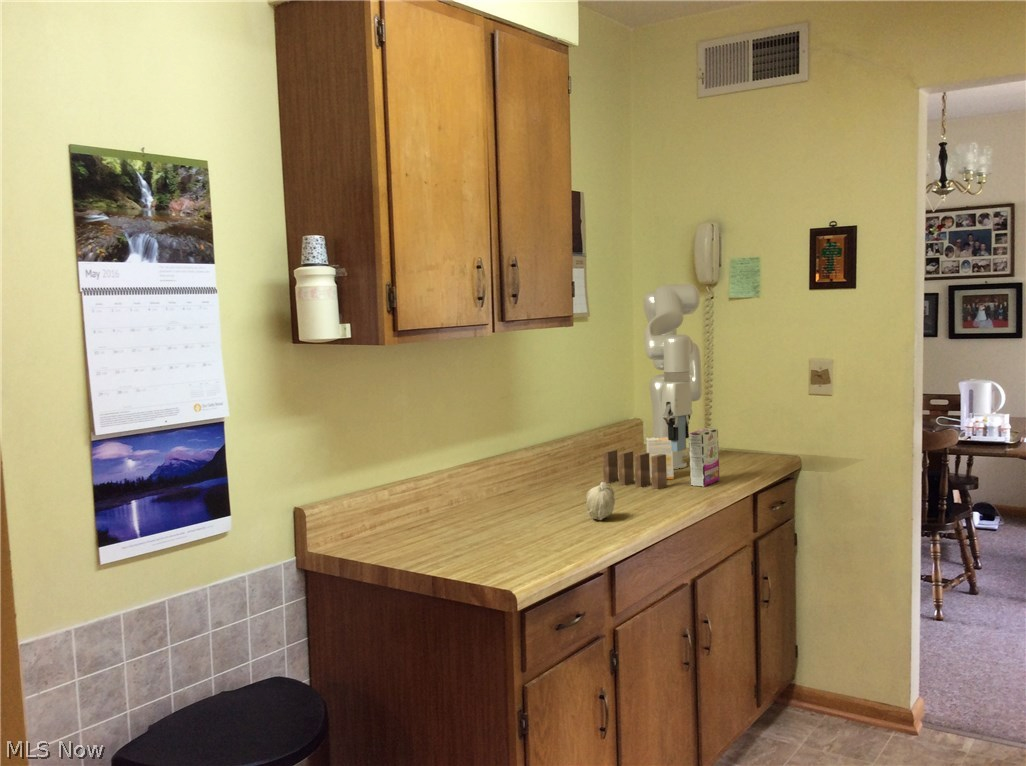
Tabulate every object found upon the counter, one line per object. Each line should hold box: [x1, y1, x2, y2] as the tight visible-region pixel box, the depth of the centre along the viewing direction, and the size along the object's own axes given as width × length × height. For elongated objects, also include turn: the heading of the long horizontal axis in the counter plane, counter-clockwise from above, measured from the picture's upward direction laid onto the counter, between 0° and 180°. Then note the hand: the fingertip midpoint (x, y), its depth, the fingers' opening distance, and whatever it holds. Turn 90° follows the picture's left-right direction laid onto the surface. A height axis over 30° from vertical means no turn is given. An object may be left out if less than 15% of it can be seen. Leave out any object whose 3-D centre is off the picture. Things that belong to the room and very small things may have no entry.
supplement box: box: [645, 437, 675, 480], centre depth 285 cm, size 8×5×13 cm, turn 84°
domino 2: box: [618, 450, 635, 486], centre depth 278 cm, size 2×5×10 cm, turn 138°
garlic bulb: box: [585, 481, 616, 521], centre depth 233 cm, size 10×8×10 cm
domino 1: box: [602, 449, 619, 484], centre depth 282 cm, size 2×5×10 cm, turn 138°
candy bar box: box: [688, 427, 720, 488], centre depth 274 cm, size 11×5×16 cm, turn 143°
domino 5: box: [671, 416, 687, 451], centre depth 264 cm, size 2×5×10 cm, turn 138°
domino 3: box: [634, 451, 651, 488], centre depth 274 cm, size 2×5×10 cm, turn 138°
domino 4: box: [651, 454, 668, 490], centre depth 270 cm, size 2×5×10 cm, turn 138°
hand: (678, 438), depth 264 cm, fingers closed on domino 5, 4 cm apart
